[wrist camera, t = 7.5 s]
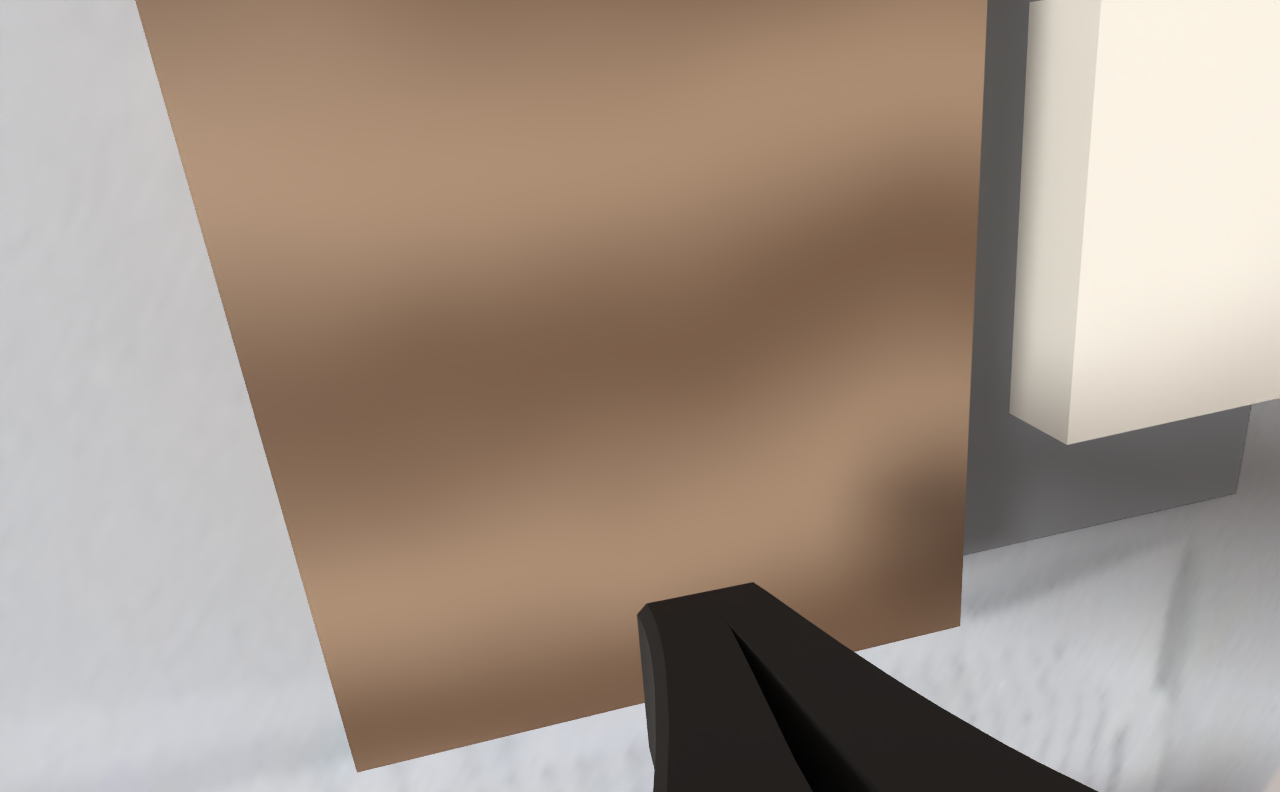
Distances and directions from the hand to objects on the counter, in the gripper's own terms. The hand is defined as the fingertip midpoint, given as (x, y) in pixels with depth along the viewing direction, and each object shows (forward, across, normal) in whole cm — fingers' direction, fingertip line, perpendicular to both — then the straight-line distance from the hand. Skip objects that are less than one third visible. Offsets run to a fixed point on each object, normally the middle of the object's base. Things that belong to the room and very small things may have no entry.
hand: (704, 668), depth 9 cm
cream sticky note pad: (+7, -13, -3) cm, 15 cm away
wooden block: (+9, -1, -2) cm, 10 cm away
